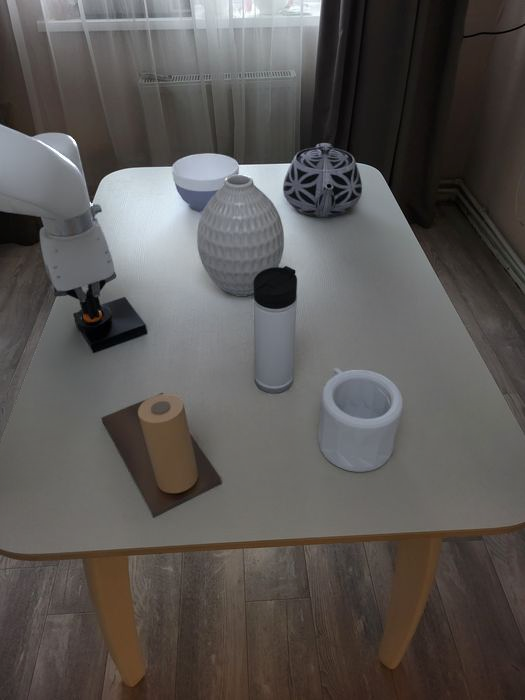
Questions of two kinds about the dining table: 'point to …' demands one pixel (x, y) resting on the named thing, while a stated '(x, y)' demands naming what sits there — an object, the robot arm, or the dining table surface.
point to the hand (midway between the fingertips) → (92, 314)
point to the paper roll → (168, 442)
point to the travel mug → (274, 328)
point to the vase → (239, 235)
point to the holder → (137, 460)
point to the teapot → (323, 181)
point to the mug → (359, 419)
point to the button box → (111, 325)
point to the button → (87, 319)
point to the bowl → (202, 177)
